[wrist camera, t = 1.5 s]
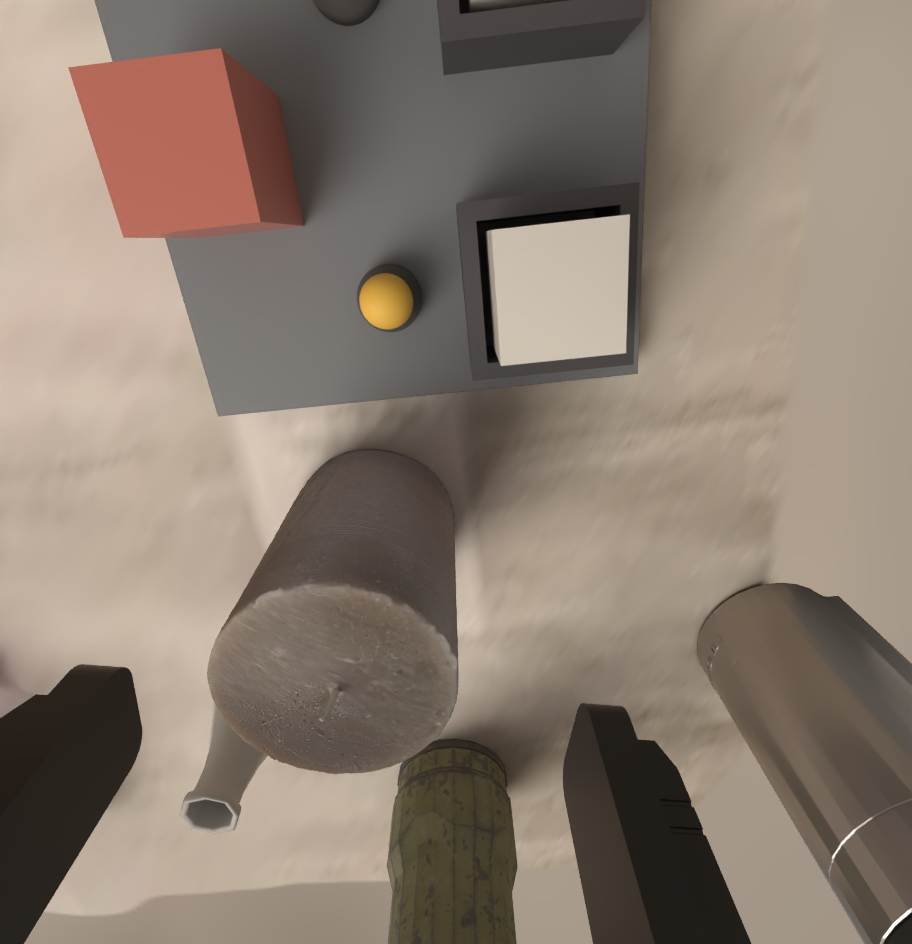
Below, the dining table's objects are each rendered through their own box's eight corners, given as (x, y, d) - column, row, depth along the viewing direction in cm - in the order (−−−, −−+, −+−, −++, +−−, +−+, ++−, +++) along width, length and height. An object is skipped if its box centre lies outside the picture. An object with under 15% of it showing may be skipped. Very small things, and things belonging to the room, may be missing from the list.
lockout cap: (278, 95, 22) (221, 47, 17) (304, 225, 24) (260, 221, 19) (162, 109, 22) (68, 67, 17) (197, 238, 24) (123, 237, 19)
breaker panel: (641, -208, 20) (712, -377, 15) (625, 365, 29) (666, 394, 23) (81, -129, 21) (-52, -262, 15) (232, 405, 30) (182, 443, 24)
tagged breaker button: (600, 218, 22) (629, 214, 18) (599, 335, 24) (626, 353, 20) (485, 231, 22) (491, 229, 18) (493, 347, 24) (500, 366, 20)
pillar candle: (357, 605, 35) (302, 837, 22) (264, 493, 32) (128, 685, 18) (483, 540, 34) (510, 748, 20) (399, 414, 30) (362, 560, 16)
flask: (314, 638, 36) (268, 771, 27) (322, 714, 39) (282, 858, 30) (208, 636, 36) (127, 769, 27) (224, 712, 39) (155, 856, 30)
